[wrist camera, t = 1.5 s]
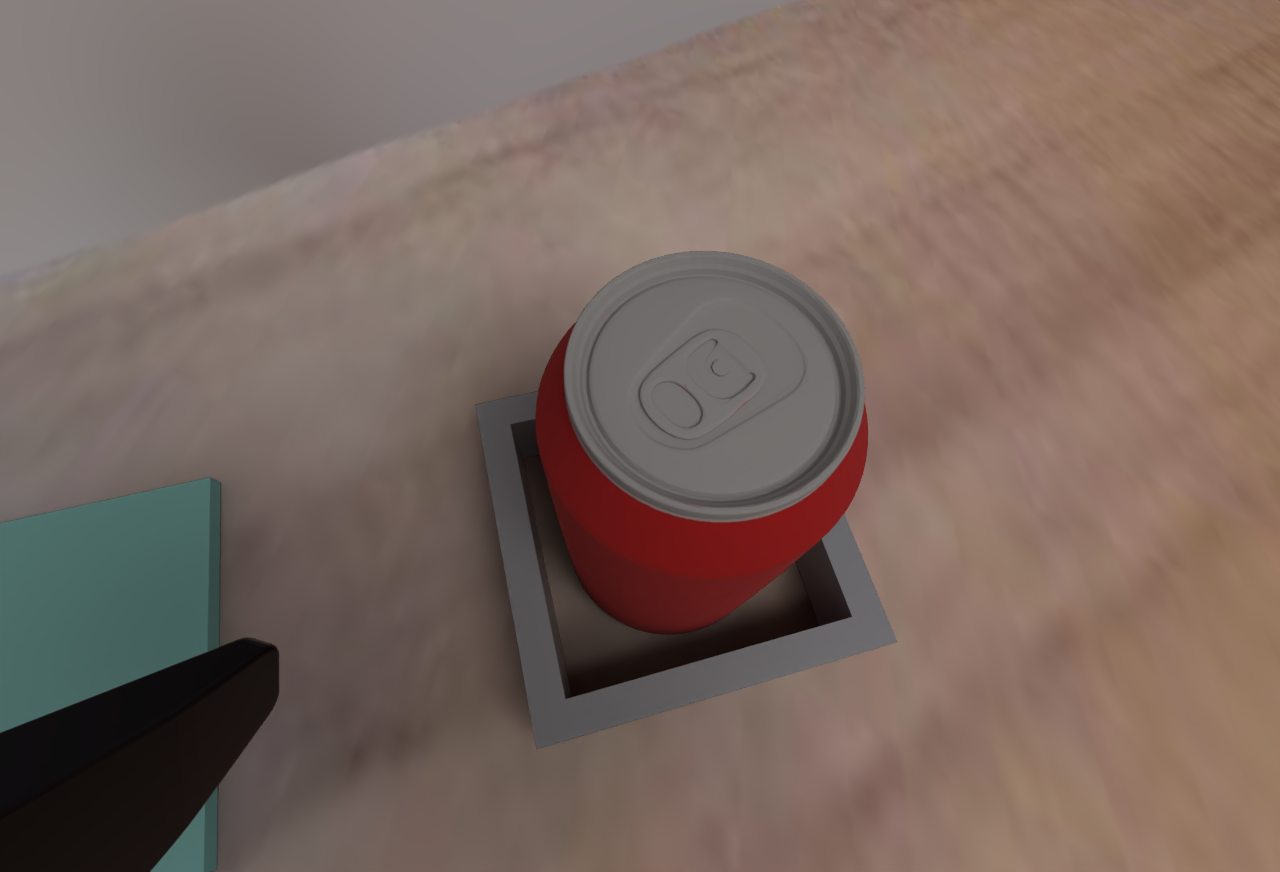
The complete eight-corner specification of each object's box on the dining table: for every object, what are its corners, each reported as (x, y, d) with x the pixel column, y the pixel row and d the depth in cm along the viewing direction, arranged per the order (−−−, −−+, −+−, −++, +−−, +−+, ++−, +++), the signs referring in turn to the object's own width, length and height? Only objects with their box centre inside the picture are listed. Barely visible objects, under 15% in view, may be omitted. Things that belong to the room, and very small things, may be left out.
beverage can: (797, 546, 22) (982, 383, 11) (660, 683, 20) (717, 657, 9) (667, 419, 24) (712, 170, 13) (530, 532, 22) (442, 353, 11)
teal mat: (216, 869, 17) (203, 874, 17) (-279, 1018, 16) (-312, 1030, 15) (220, 483, 22) (210, 477, 21) (-162, 566, 20) (-184, 562, 20)
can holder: (859, 650, 20) (897, 641, 18) (548, 743, 19) (536, 749, 16) (754, 381, 24) (772, 340, 22) (492, 440, 23) (475, 404, 20)
